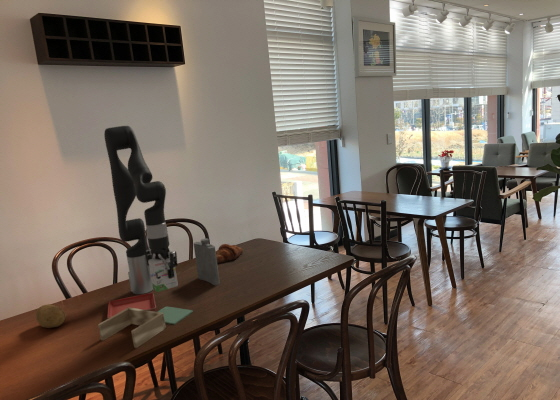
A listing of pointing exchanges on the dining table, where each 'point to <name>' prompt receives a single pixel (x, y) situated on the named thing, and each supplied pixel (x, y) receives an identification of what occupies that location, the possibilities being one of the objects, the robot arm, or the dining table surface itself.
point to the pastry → (228, 253)
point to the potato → (50, 316)
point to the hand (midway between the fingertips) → (164, 276)
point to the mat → (174, 314)
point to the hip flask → (206, 262)
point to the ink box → (161, 275)
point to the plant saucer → (132, 304)
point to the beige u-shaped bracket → (146, 319)
